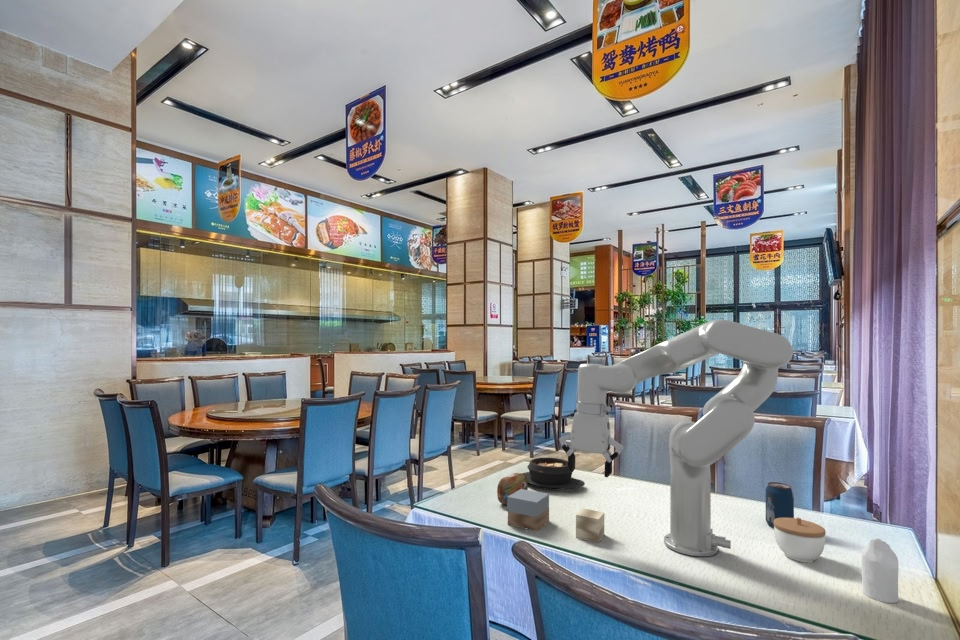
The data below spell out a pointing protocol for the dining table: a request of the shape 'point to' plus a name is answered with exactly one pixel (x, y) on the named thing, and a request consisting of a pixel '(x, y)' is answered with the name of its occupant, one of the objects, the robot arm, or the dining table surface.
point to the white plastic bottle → (880, 572)
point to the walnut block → (528, 520)
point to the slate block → (528, 502)
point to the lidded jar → (799, 538)
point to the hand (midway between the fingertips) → (589, 473)
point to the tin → (511, 486)
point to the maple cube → (590, 525)
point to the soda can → (779, 502)
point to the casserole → (551, 474)
